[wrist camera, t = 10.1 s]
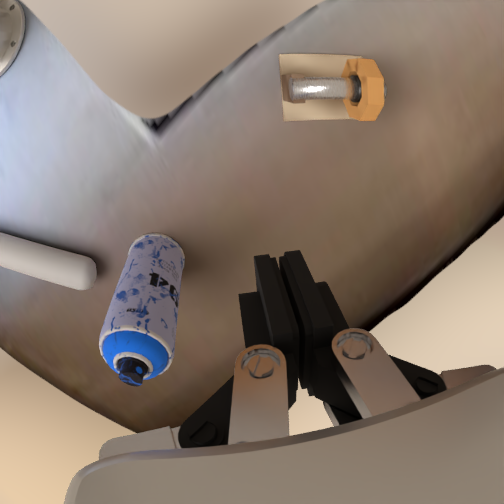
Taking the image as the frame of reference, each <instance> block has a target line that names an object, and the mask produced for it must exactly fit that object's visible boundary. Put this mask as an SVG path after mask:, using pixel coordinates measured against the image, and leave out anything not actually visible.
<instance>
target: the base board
mask: <svg viewBox="0 0 504 504" xmlns="http://www.w3.org/2000/svg"><path fill="white" fill-rule="evenodd" d="M357 58H361V59H362V56H350V55H331V54H279V66H280V79H281V92H282V106H283V121H299V120H323V119H354V118H351V117H349V115H348V112H347V109H346V107H345V104H344V102H343V99H325V100H305V99H297V100H291V98H290V94H289V79H290V77H291V78H304V77H341V75H342V73H343V70H344V67H345V64H346V61H347V59H357Z"/></svg>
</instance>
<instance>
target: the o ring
mask: <svg viewBox="0 0 504 504" xmlns="http://www.w3.org/2000/svg"><path fill="white" fill-rule="evenodd" d="M351 75H358V76H359V79H360V81H361V90H362V98H361V100H360V102H352V101H351V100H344V99H343V102H344V104H345V107H346V109H347V112H348V115H349V117H351V118H354V119H357V120H360V121H375V120H376V118H377V117H378V115H379V113H380V111H381V109H382V108H383V106H384V78H383V76H382V74H381V72H380V70H379V69H378V67H377V65H376V63H375V61H374V60H372V59H361V58H357V59H347V61H346V64H345V67H344V70H343V73H342V75H341V77H345V78H349V77H350V76H351Z"/></svg>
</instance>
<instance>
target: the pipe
mask: <svg viewBox="0 0 504 504" xmlns="http://www.w3.org/2000/svg"><path fill="white" fill-rule="evenodd" d="M289 94H290V98H291V100H297V99H305V100H325V99H344V100H351V101H352V102H360V100H361V98H362V90H361V81H360V79H359V76H358V75H351V76H350V77H349V78H345V77H304V78H291V77H290V79H289ZM386 94H387V88H386V84H385V82H384V99H385V98H386Z"/></svg>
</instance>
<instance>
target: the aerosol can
mask: <svg viewBox="0 0 504 504" xmlns="http://www.w3.org/2000/svg"><path fill="white" fill-rule="evenodd" d="M184 263H185V256H184V253H183V250H182V248H181V247H180V245H179V244H178V243H177V242H176V241H175V240H173V239H172V238H171V237H169V236H166V235H164V234H159V233H150V234H145V235H142V236H141V237H139V238H137V239H136V240H135V241H134V242H133V244H132V245H131V247H130V250H129V253H128V258H127V261H126V263H125V266H124V268H123V271H122V274H121V276H120V279H119V281H118V284H117V287H116V290H115V292H114V295H113V298H112V301H111V304H110V307H109V309H108V312H107V315H106V318H105V321H104V324H103V327H102V330H101V334H100V338H99V348H100V352H101V355H102V357H103V358H104V360H105V361H106V362H107V363H108V365H109V366H110V367H111V368H112V369H113V370H114V371H115V372H116V373H118V374H119V378H120V380H122V381H123V382H124V383H126V384H128V385H131V386H140V385H141V384H142V382H143V380H146V379H151V378H153V377H156V376H157V375H159V374H162V373H163V372H164V371H166V370H167V369H168V368H169V366H170V364H171V362H172V359H173V357H174V349H175V337H176V326H177V315H178V305H179V295H180V286H181V277H182V270H183V268H184Z"/></svg>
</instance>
